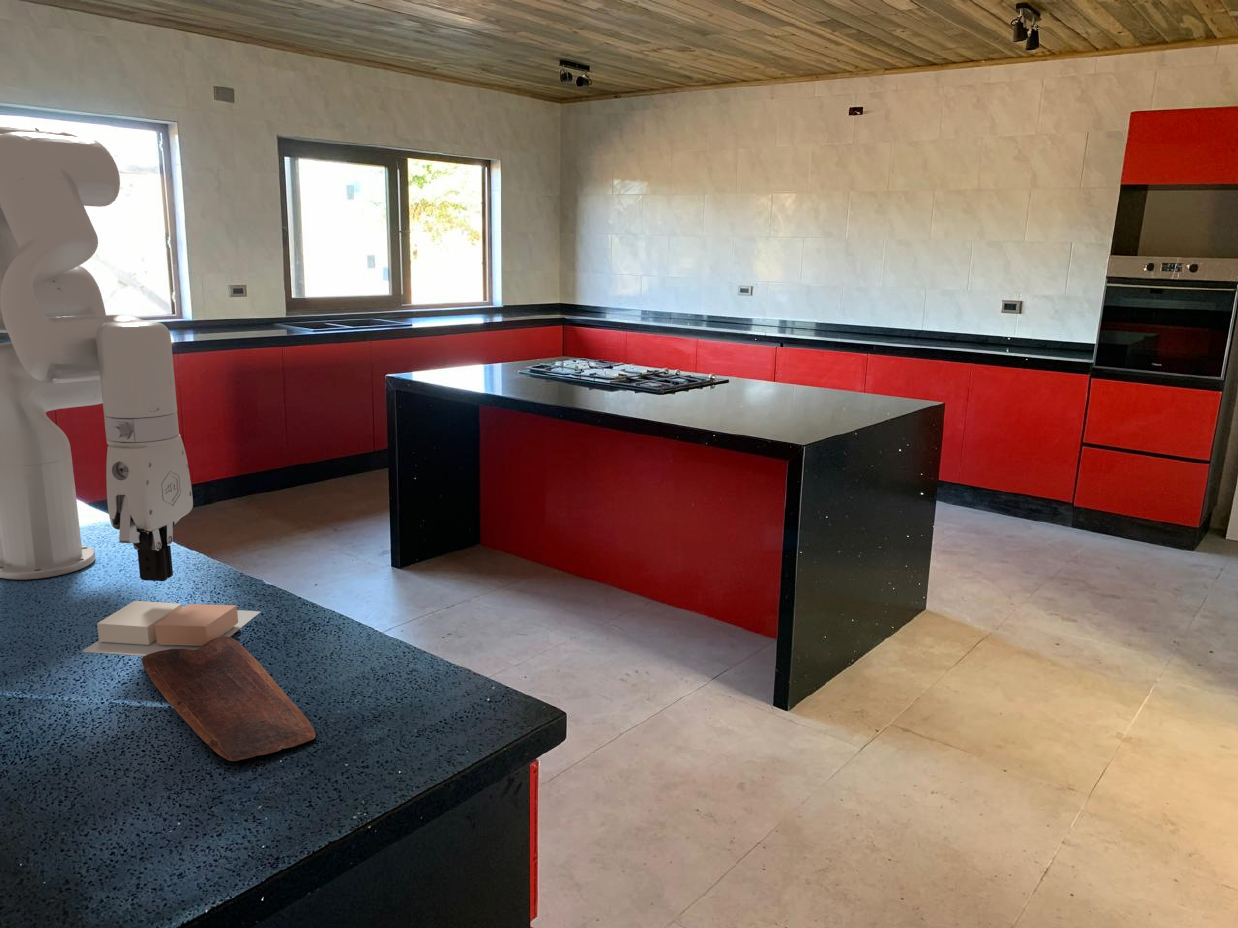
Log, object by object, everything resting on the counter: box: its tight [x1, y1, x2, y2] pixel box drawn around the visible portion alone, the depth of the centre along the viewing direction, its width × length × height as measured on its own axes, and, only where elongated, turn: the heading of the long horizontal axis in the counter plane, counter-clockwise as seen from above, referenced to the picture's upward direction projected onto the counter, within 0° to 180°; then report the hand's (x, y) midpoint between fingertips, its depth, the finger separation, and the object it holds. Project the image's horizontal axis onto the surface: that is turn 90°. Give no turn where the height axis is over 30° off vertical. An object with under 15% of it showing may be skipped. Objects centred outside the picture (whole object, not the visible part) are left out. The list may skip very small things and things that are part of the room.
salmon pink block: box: [155, 603, 238, 646], centre depth 106 cm, size 6×2×7 cm
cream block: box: [96, 600, 183, 646], centre depth 106 cm, size 6×2×7 cm
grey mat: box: [81, 606, 261, 657], centre depth 107 cm, size 14×14×1 cm
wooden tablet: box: [140, 636, 317, 762], centre depth 92 cm, size 26×2×10 cm
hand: (156, 578), depth 109 cm, fingers closed
